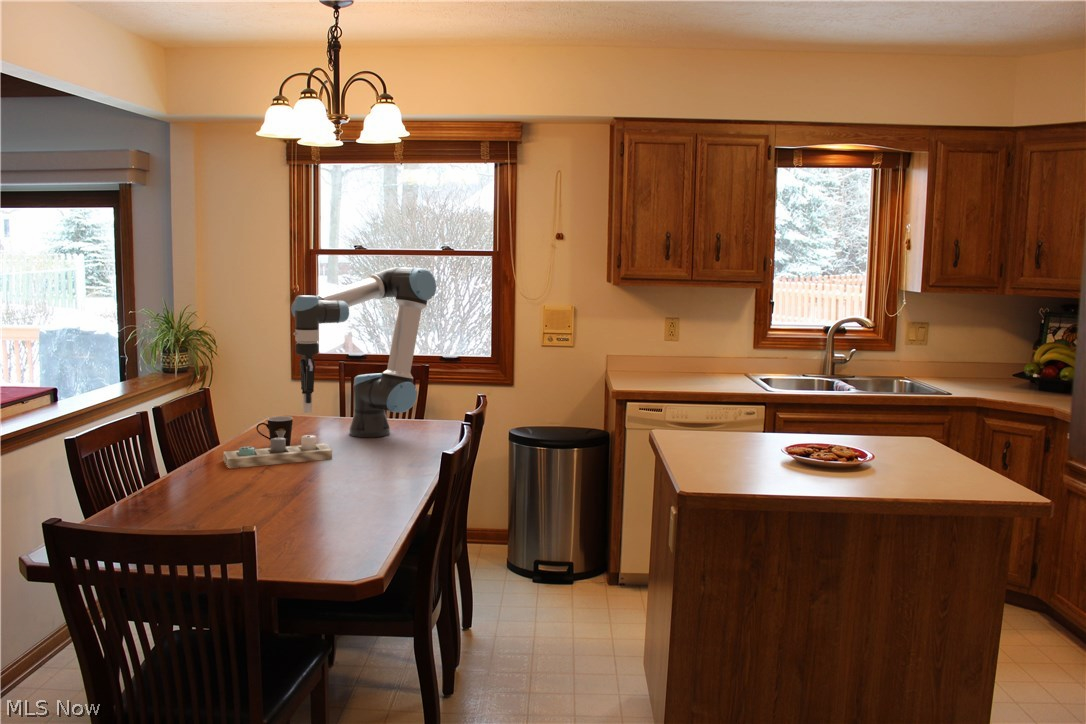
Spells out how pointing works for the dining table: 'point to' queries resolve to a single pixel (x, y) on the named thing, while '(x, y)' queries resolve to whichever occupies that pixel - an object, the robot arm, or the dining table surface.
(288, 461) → the wooden compartment tray
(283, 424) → the coffee mug
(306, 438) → the button
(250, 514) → the dining table surface
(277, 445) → the gray dotted rounded cylinder
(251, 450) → the button
